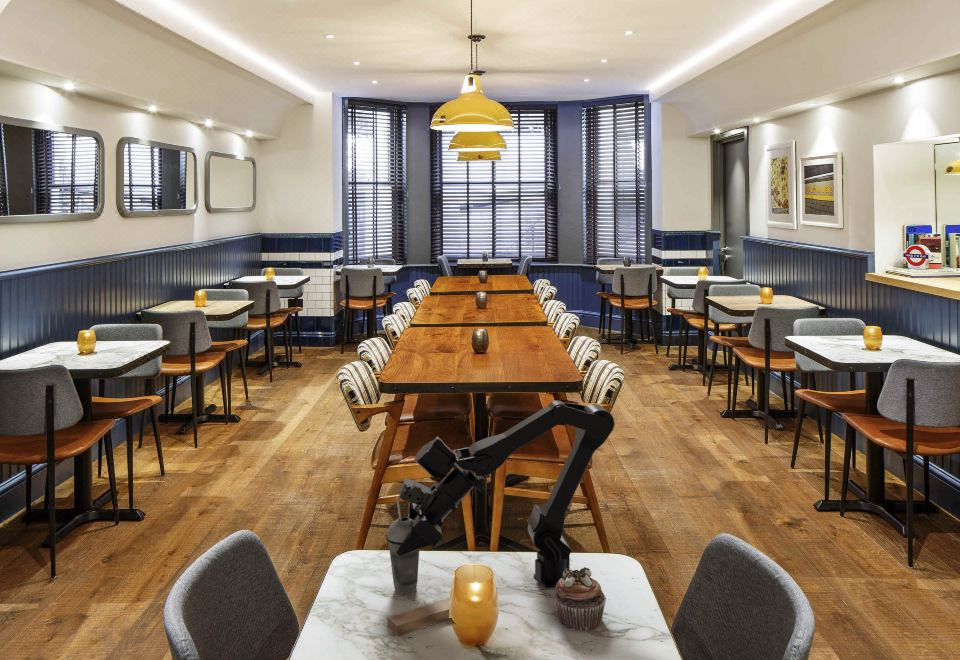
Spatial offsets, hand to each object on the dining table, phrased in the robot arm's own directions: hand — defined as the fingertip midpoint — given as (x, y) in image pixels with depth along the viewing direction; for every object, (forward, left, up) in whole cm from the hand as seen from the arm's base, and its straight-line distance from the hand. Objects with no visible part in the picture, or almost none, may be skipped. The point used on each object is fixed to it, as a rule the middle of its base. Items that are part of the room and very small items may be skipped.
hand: (397, 546), depth 172 cm
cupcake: (-27, +27, -10) cm, 40 cm away
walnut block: (-1, +14, -10) cm, 17 cm away
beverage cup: (-1, 0, -10) cm, 10 cm away
